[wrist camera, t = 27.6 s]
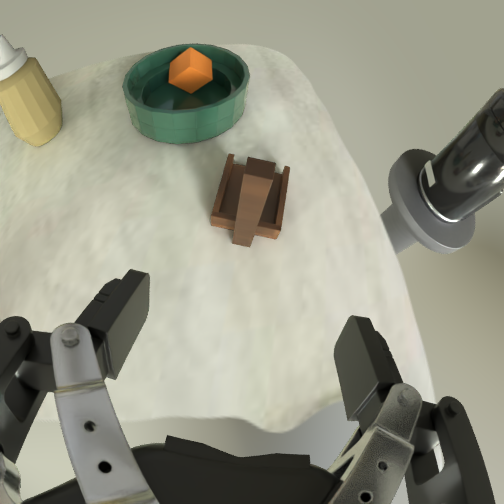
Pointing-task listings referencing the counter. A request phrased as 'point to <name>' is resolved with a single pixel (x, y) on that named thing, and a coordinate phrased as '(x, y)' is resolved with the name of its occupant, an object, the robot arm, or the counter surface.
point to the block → (190, 70)
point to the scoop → (250, 200)
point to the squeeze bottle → (28, 96)
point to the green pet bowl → (186, 96)
